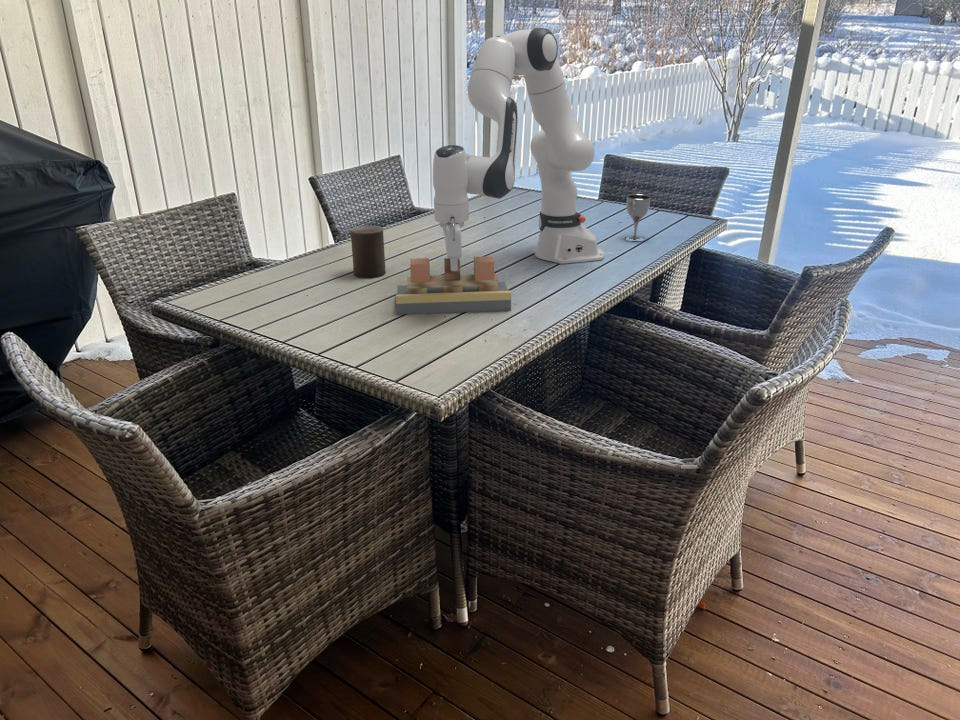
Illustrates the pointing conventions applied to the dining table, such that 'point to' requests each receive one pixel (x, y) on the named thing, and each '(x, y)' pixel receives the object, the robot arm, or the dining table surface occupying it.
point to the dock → (453, 300)
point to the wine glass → (637, 209)
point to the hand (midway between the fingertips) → (453, 264)
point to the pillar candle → (368, 251)
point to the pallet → (452, 282)
